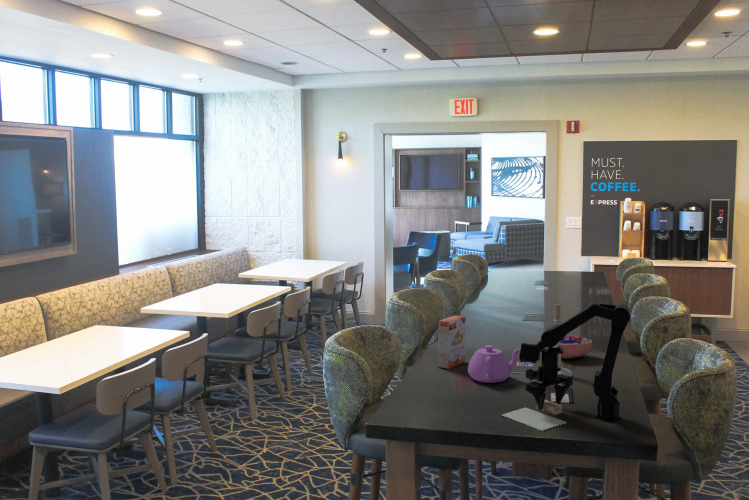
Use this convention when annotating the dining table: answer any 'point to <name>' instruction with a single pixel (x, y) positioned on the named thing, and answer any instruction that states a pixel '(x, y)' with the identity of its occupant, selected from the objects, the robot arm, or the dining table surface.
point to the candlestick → (558, 321)
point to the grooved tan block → (552, 407)
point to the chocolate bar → (552, 396)
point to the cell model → (575, 346)
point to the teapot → (491, 365)
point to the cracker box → (451, 341)
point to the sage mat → (534, 419)
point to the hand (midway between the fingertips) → (549, 407)
